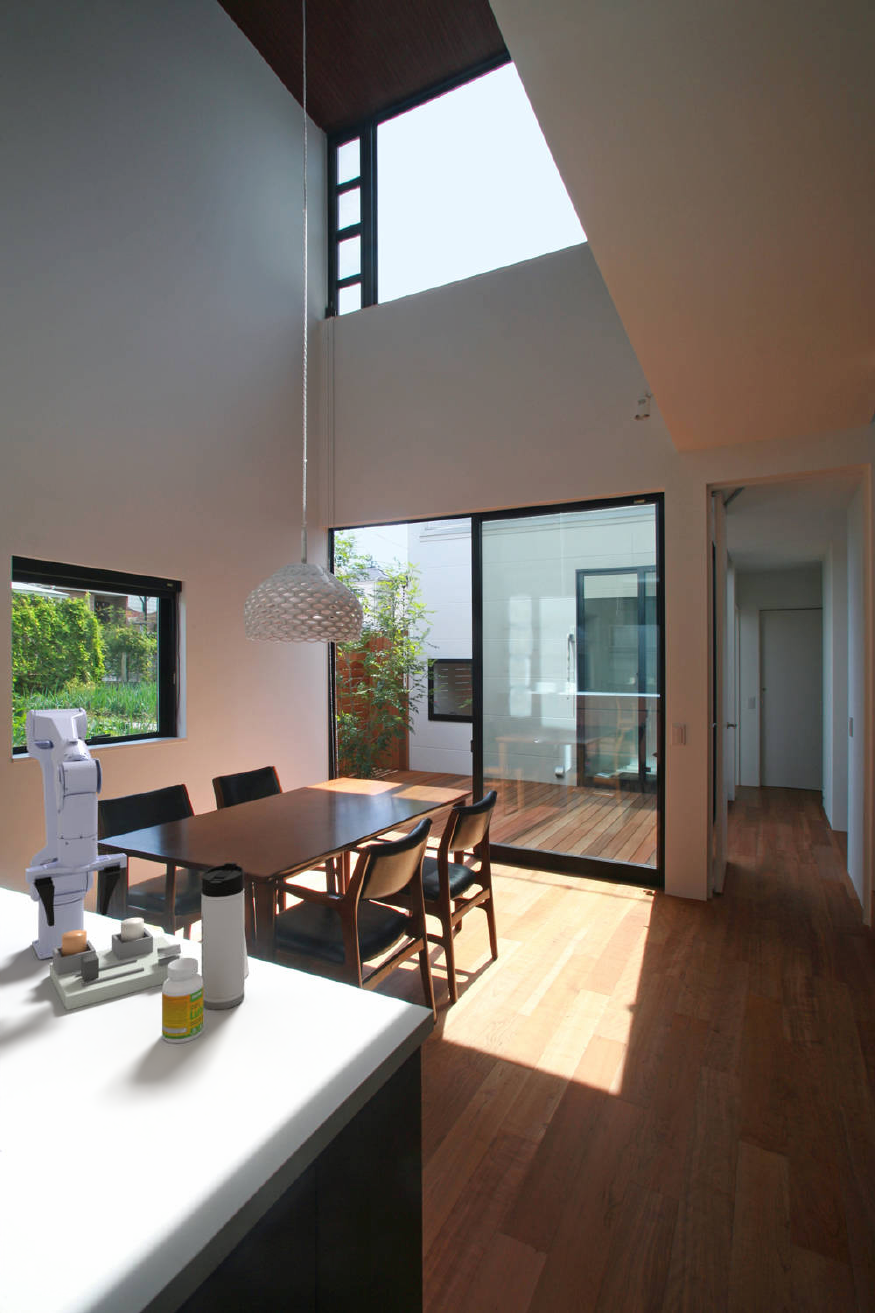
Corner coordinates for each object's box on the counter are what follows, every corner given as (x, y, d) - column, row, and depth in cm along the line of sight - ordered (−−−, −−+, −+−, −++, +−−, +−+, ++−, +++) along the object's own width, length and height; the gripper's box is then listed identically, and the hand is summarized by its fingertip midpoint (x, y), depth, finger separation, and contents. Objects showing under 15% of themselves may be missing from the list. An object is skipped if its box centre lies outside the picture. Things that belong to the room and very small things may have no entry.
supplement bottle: (194, 1044, 92) (194, 972, 92) (155, 1044, 92) (155, 972, 92) (209, 1024, 97) (209, 955, 97) (171, 1023, 97) (171, 955, 97)
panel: (49, 975, 113) (49, 947, 113) (162, 947, 124) (162, 922, 124) (66, 1010, 101) (66, 979, 101) (189, 976, 112) (189, 948, 112)
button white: (118, 938, 118) (118, 920, 118) (140, 933, 120) (140, 916, 120) (123, 944, 115) (123, 927, 115) (146, 939, 117) (146, 922, 117)
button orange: (59, 951, 112) (59, 933, 112) (84, 946, 115) (84, 928, 115) (63, 959, 110) (63, 940, 110) (88, 953, 112) (88, 934, 112)
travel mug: (251, 990, 107) (251, 862, 107) (234, 1011, 100) (234, 875, 101) (213, 989, 108) (213, 862, 108) (194, 1009, 101) (194, 874, 101)
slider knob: (81, 975, 108) (81, 956, 108) (94, 971, 109) (94, 953, 109) (84, 981, 105) (84, 962, 105) (98, 978, 107) (98, 958, 107)
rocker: (157, 957, 113) (157, 948, 114) (173, 953, 115) (173, 944, 115) (164, 957, 110) (163, 948, 111) (181, 953, 112) (180, 944, 112)
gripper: (29, 847, 103) (29, 937, 103) (131, 832, 112) (131, 915, 112) (23, 838, 109) (23, 923, 109) (121, 825, 118) (120, 903, 117)
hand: (77, 918), depth 111 cm, fingers open, 7 cm apart
